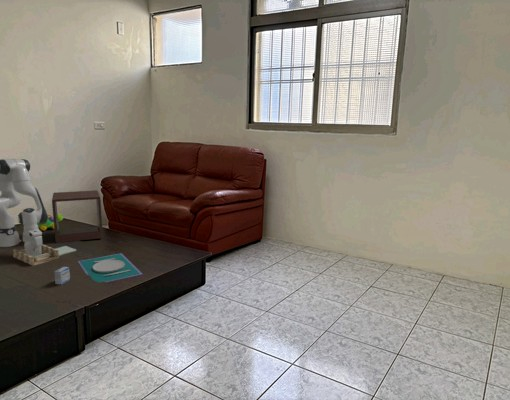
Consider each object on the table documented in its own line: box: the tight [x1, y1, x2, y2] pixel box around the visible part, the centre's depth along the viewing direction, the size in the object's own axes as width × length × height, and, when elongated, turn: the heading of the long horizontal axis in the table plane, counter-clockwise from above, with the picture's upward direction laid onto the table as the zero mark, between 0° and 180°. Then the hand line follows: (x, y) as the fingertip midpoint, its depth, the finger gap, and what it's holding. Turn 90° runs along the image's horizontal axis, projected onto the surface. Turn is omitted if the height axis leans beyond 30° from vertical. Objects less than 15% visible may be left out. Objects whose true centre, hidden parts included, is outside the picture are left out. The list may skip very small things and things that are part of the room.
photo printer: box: [23, 241, 43, 257], centre depth 269 cm, size 10×4×12 cm, turn 124°
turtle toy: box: [37, 213, 64, 232], centre depth 338 cm, size 17×23×12 cm
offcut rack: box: [12, 243, 60, 266], centre depth 268 cm, size 26×18×6 cm
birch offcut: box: [34, 253, 51, 261], centre depth 264 cm, size 4×10×2 cm, turn 156°
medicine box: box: [53, 266, 71, 286], centre depth 230 cm, size 8×4×9 cm, turn 170°
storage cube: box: [51, 189, 104, 244], centre depth 316 cm, size 35×29×35 cm
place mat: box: [77, 252, 143, 283], centre depth 255 cm, size 45×30×2 cm
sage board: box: [55, 245, 77, 257], centre depth 282 cm, size 14×14×1 cm
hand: (33, 249), depth 269 cm, fingers closed on photo printer, 5 cm apart
